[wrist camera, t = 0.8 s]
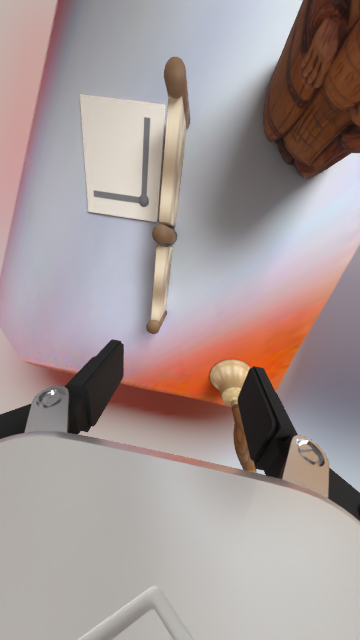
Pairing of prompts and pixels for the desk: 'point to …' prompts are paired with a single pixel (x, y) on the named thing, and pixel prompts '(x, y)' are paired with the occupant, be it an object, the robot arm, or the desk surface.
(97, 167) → the card
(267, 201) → the desk surface
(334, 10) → the wooden figurine
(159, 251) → the fence panel
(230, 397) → the hand bell
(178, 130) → the fence fixed
